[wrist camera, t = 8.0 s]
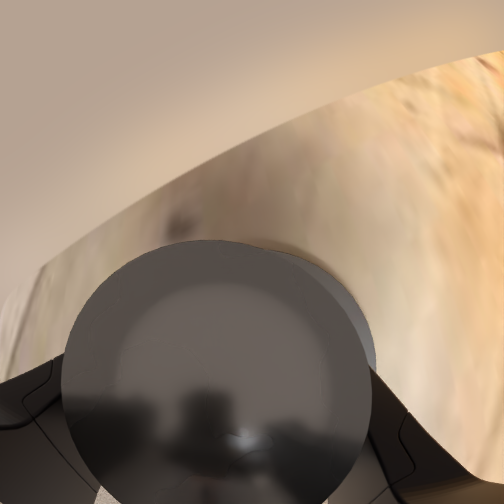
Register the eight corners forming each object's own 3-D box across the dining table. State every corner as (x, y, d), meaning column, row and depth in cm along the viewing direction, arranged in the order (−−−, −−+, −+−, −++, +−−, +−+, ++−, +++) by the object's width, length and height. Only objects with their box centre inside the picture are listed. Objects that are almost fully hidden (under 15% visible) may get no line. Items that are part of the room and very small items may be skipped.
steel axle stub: (277, 436, 13) (294, 568, 3) (183, 400, 14) (35, 445, 4) (313, 344, 15) (410, 299, 4) (219, 311, 16) (130, 204, 5)
